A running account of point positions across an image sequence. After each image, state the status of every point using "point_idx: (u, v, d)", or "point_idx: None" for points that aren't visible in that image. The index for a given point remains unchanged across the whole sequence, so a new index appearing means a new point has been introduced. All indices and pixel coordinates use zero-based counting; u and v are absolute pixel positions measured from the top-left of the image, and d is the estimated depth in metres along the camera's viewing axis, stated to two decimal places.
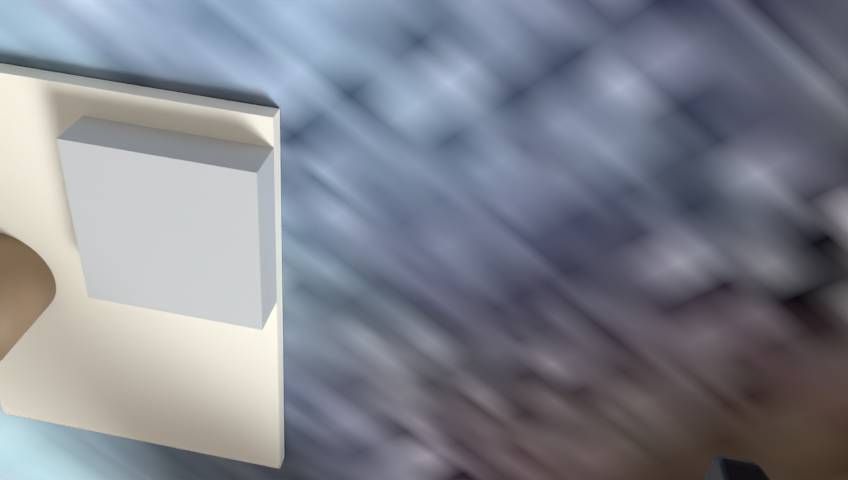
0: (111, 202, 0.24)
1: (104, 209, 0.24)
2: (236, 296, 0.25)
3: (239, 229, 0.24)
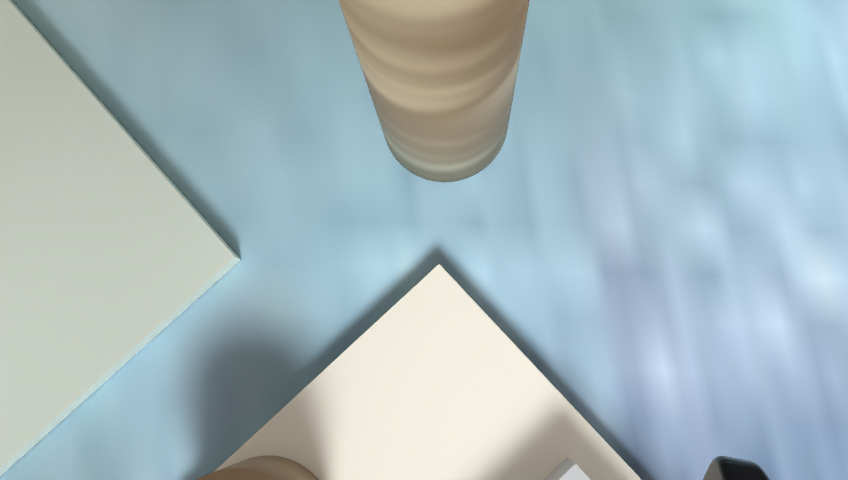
0: None
1: None
2: None
3: None
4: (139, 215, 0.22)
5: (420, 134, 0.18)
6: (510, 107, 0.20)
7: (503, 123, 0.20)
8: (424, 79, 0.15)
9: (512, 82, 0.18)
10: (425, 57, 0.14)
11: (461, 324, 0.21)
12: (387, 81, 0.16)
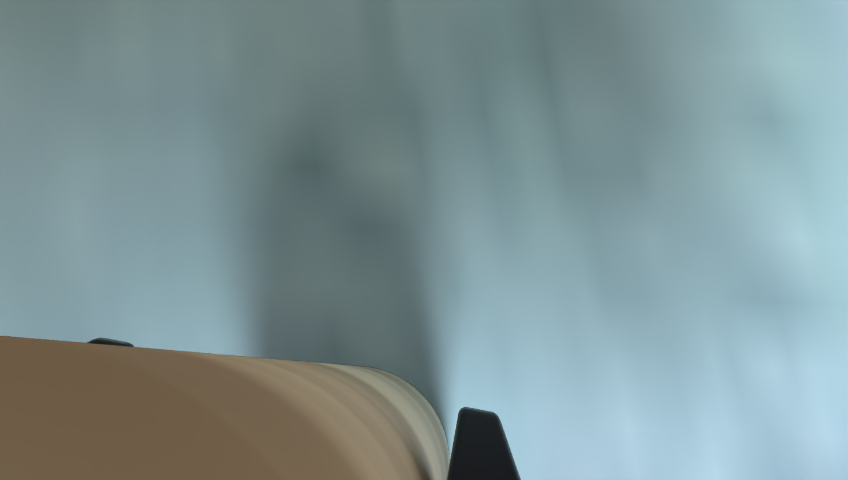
0: None
1: None
2: None
3: None
4: None
5: None
6: None
7: None
8: None
9: None
10: None
11: None
12: None
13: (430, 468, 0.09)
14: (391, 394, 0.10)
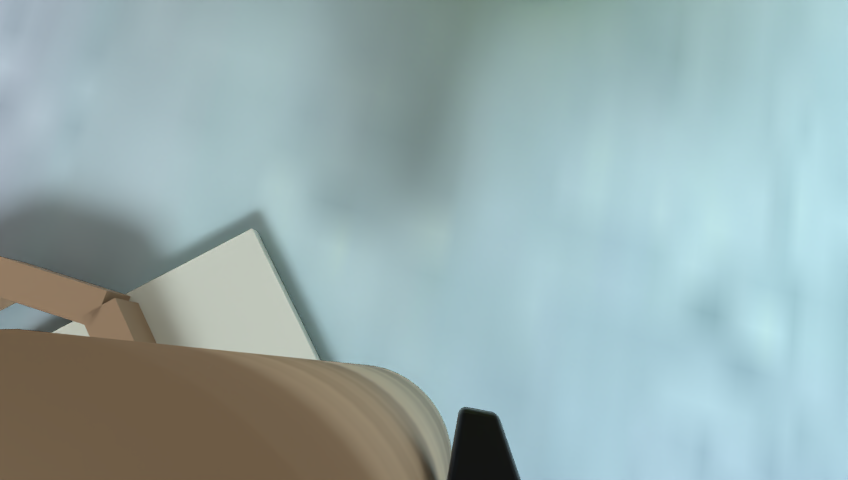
0: None
1: None
2: None
3: None
4: None
5: None
6: None
7: None
8: None
9: None
10: None
11: None
12: None
13: (434, 465, 0.09)
14: (395, 392, 0.10)
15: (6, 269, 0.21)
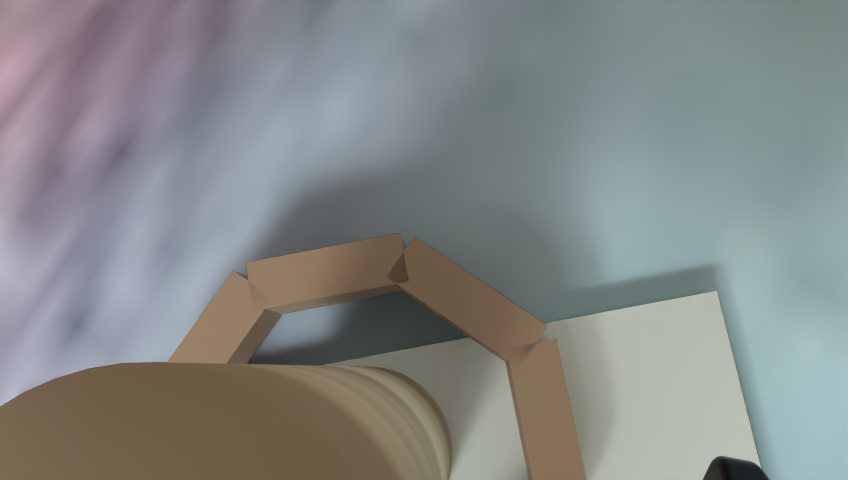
0: None
1: None
2: None
3: None
4: None
5: None
6: None
7: None
8: None
9: None
10: None
11: None
12: None
13: (436, 455, 0.11)
14: (402, 393, 0.12)
15: (423, 257, 0.16)
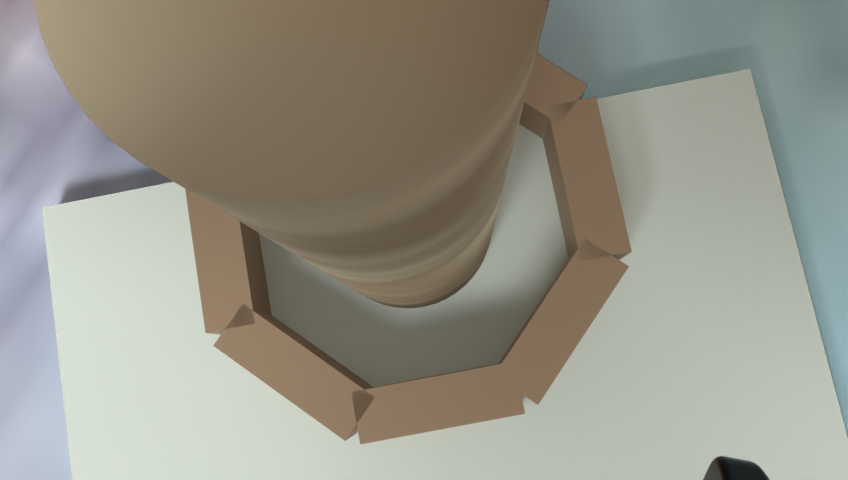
0: None
1: None
2: None
3: None
4: None
5: (361, 289, 0.13)
6: (492, 230, 0.14)
7: (482, 252, 0.14)
8: (343, 267, 0.09)
9: (492, 220, 0.12)
10: (336, 256, 0.08)
11: None
12: (292, 252, 0.10)
13: None
14: None
15: None
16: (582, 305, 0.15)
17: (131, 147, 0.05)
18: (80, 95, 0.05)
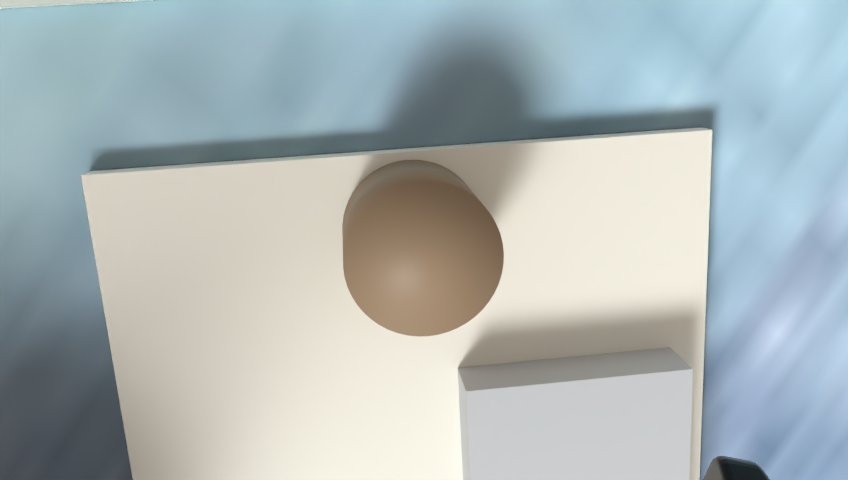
0: (620, 424, 0.21)
1: (610, 417, 0.21)
2: None
3: None
4: None
5: None
6: None
7: None
8: None
9: None
10: None
11: (685, 192, 0.21)
12: None
13: None
14: None
15: None
16: None
17: None
18: None
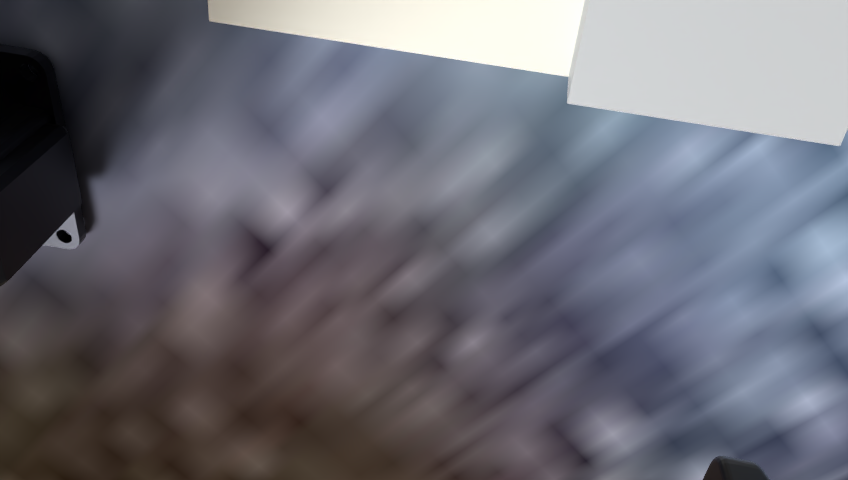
0: None
1: None
2: (632, 78, 0.17)
3: (752, 106, 0.17)
4: None
5: None
6: None
7: None
8: None
9: None
10: None
11: None
12: None
13: None
14: None
15: None
16: None
17: None
18: None
